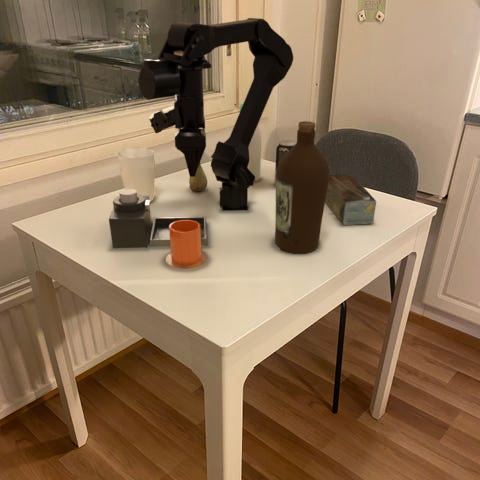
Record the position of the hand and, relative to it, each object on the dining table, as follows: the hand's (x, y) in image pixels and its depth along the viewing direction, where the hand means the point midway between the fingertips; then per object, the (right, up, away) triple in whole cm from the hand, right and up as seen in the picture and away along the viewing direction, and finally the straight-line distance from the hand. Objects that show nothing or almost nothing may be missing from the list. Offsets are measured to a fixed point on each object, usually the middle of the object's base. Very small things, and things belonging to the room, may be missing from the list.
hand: (192, 169), depth 108 cm
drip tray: (-3, -15, 0) cm, 15 cm away
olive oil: (+23, -17, -3) cm, 29 cm away
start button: (-13, -8, -6) cm, 16 cm away
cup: (-15, -3, +17) cm, 23 cm away
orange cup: (0, -21, -10) cm, 23 cm away
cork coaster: (0, -22, -10) cm, 24 cm away
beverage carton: (+37, -6, +14) cm, 40 cm away
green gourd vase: (-1, +2, +24) cm, 24 cm away
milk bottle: (+13, +7, +33) cm, 36 cm away
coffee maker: (-13, -15, -1) cm, 20 cm away
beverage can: (+23, +4, +28) cm, 36 cm away
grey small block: (-9, -10, -4) cm, 14 cm away
